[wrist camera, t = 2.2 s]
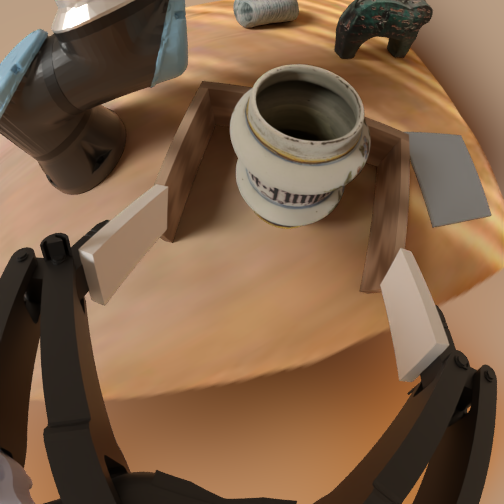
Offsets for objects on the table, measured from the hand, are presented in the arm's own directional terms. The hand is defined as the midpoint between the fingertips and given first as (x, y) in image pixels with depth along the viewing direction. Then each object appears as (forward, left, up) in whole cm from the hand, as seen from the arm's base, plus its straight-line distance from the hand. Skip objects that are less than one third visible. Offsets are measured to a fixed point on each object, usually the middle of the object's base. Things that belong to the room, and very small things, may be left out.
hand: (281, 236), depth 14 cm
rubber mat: (-10, +33, -18) cm, 39 cm away
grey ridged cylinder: (-51, +10, -19) cm, 55 cm away
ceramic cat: (-39, +30, -19) cm, 53 cm away
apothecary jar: (-10, +4, -19) cm, 21 cm away
